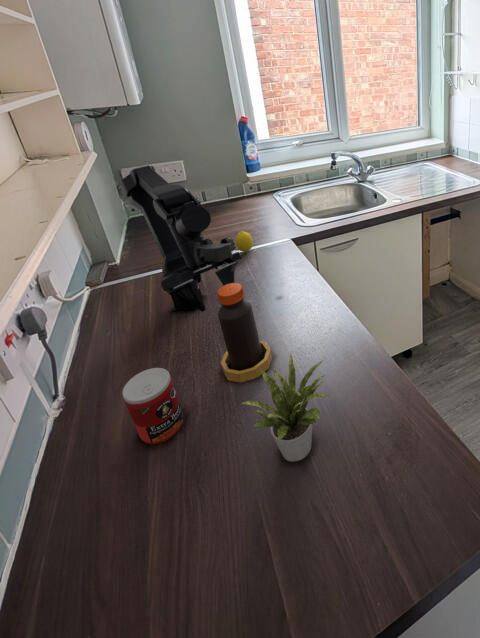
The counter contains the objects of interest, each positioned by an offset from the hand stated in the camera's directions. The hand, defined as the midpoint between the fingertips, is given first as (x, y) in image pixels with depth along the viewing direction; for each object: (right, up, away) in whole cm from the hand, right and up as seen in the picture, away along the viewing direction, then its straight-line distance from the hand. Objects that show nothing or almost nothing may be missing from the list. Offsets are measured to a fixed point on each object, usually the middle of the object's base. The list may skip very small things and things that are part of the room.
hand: (219, 302), depth 92 cm
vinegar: (+7, -14, -1) cm, 15 cm away
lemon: (-11, +10, +47) cm, 49 cm away
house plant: (+24, -21, -21) cm, 38 cm away
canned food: (-4, -20, -15) cm, 26 cm away
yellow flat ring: (+7, -13, -2) cm, 15 cm away
